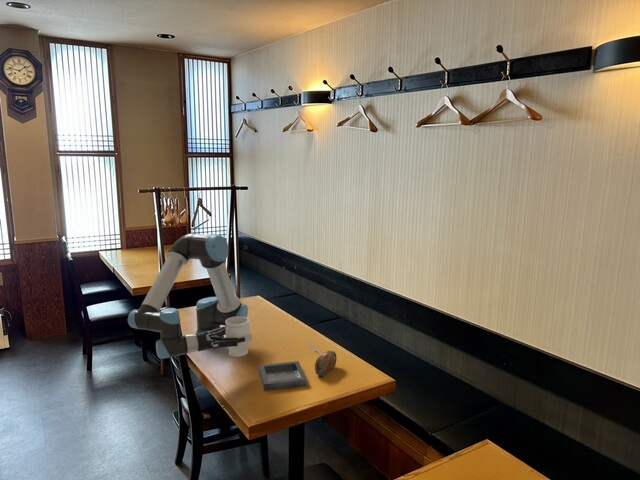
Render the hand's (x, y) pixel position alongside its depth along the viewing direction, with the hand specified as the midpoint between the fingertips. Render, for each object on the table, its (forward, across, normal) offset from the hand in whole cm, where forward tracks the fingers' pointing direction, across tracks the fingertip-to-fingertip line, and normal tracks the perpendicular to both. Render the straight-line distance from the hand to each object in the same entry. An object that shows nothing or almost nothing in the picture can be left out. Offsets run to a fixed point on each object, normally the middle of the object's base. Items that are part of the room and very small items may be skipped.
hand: (247, 332), depth 200 cm
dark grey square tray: (+11, +12, -19) cm, 25 cm away
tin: (+31, +15, -20) cm, 40 cm away
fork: (+38, -2, -20) cm, 43 cm away
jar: (-4, 0, -9) cm, 10 cm away
